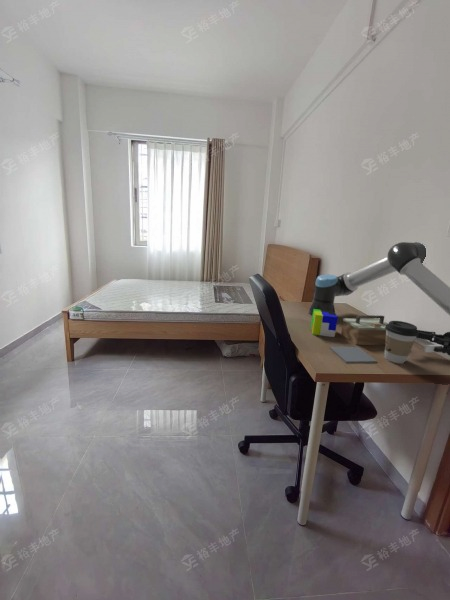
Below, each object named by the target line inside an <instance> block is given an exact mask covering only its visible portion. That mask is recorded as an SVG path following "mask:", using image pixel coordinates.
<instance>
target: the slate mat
mask: <svg viewBox="0 0 450 600" xmlns="http://www.w3.org/2000/svg"><path fill="white" fill-rule="evenodd" d="M329 349H330V350H331V351H332V352H333V353H334V354H336V356H338V357H339V359H341V360H342V361H343V362H344V363H345V364H357V363H358V364H361V363H363V364H364V363H368V364H369V363H371V364H372V363H373V364H374V363H375V364H377V363H378V360H377V359H376V358H374V357H373V356H371V355H370V354H368V353H367V352H365V350H363V349H362V348H360V347H359V346H329Z"/></svg>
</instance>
